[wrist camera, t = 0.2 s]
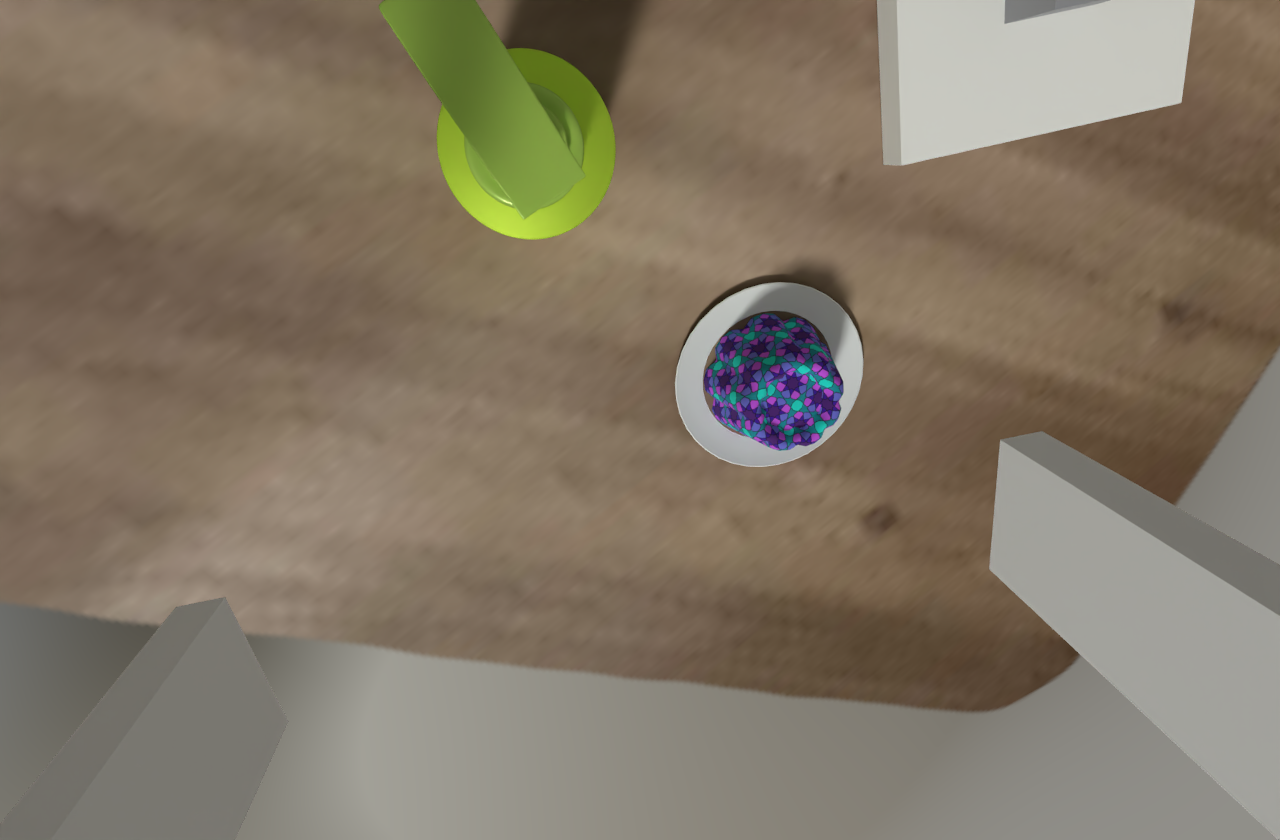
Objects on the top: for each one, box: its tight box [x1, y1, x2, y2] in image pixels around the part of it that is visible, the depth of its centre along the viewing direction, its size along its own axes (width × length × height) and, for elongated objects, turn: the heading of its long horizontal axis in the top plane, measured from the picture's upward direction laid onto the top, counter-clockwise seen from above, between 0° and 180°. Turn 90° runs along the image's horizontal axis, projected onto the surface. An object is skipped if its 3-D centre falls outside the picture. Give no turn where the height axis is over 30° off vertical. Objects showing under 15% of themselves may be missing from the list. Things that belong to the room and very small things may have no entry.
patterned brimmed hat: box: [675, 282, 863, 467], centre depth 38 cm, size 12×12×5 cm
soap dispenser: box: [379, 0, 615, 239], centre depth 24 cm, size 6×7×20 cm
